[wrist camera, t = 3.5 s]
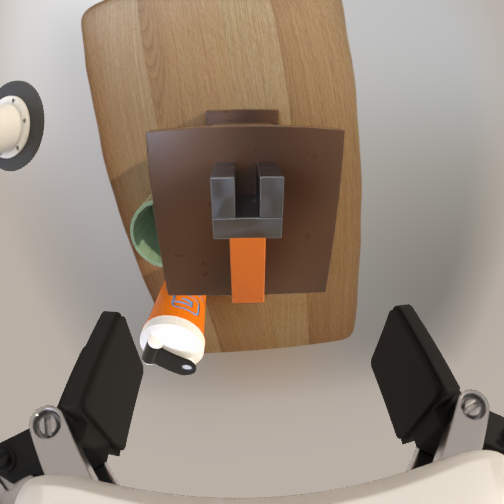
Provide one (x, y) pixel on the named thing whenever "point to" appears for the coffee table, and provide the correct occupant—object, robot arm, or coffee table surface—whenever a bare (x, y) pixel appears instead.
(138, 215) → the green cup
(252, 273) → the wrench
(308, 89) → the coffee table surface
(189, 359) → the shaker bottle
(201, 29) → the coffee table surface
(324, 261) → the stand
